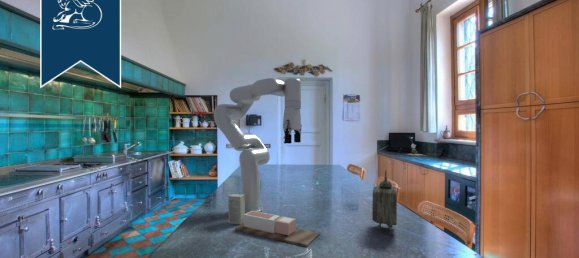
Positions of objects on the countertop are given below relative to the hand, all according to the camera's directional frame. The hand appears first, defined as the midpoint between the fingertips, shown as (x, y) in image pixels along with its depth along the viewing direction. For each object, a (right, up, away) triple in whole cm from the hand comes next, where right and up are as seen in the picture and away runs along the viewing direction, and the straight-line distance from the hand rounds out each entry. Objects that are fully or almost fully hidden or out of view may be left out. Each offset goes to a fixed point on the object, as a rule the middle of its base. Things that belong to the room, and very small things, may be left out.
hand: (292, 142), depth 123 cm
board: (-7, -35, -15) cm, 39 cm away
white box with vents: (-13, -35, -12) cm, 39 cm away
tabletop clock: (+38, -36, -11) cm, 54 cm away
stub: (-3, -34, -17) cm, 38 cm away
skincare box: (-25, -35, -4) cm, 44 cm away
